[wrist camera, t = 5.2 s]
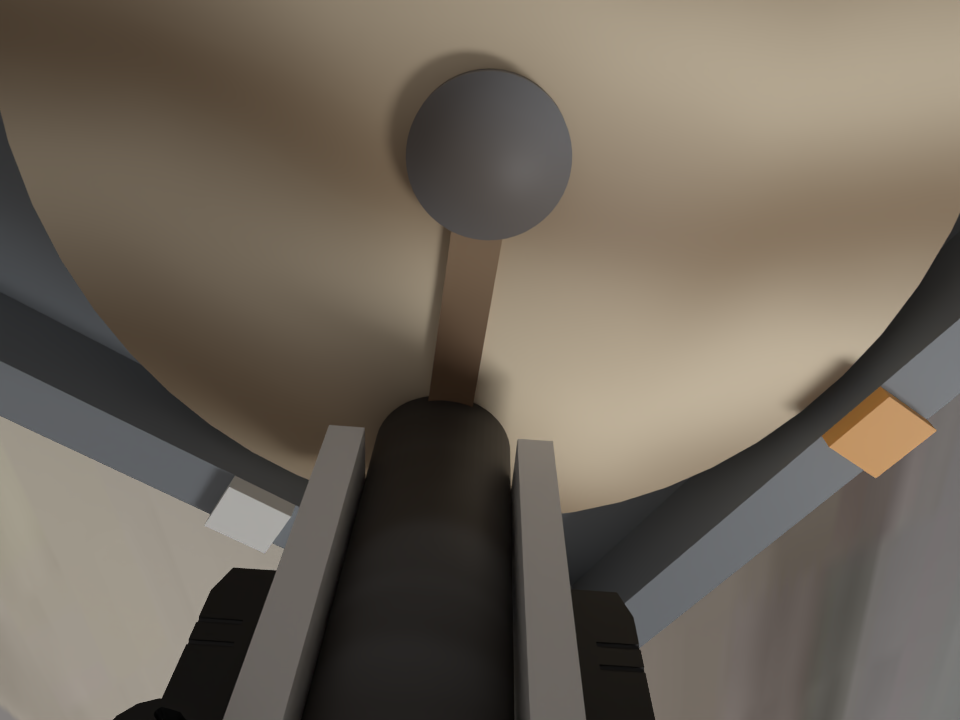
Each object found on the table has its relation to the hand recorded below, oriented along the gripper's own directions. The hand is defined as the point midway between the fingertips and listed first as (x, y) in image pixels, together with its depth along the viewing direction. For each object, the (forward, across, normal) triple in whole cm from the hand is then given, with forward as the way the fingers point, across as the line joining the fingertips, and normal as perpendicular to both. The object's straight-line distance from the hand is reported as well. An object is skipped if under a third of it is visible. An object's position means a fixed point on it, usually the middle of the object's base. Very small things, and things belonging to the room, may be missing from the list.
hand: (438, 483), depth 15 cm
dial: (+3, +1, +7) cm, 7 cm away
